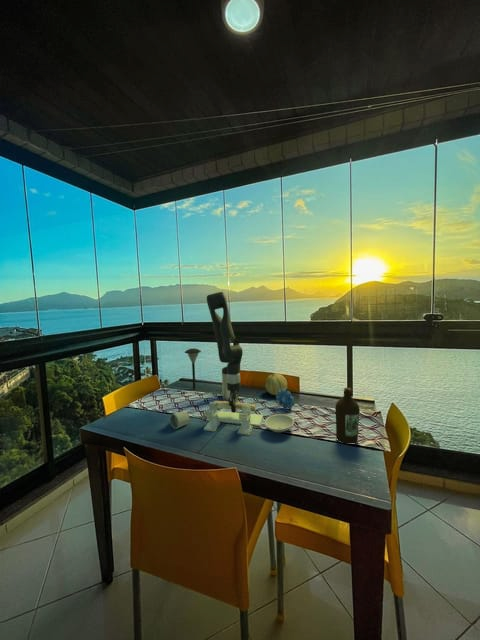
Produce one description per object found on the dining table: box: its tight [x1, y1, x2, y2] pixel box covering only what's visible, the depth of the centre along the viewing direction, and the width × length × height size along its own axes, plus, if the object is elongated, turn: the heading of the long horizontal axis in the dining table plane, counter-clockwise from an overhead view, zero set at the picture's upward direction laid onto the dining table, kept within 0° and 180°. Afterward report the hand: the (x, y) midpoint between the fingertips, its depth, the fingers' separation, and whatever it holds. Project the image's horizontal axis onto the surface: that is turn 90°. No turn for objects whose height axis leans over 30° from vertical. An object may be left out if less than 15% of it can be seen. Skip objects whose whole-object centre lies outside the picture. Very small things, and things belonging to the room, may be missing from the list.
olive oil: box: [334, 387, 361, 444], centre depth 132 cm, size 11×11×25 cm
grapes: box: [275, 389, 295, 410], centre depth 168 cm, size 12×7×12 cm, turn 60°
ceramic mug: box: [169, 410, 190, 430], centre depth 151 cm, size 11×8×8 cm
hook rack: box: [203, 401, 254, 436], centre depth 146 cm, size 8×24×12 cm, turn 75°
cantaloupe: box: [265, 372, 288, 396], centre depth 193 cm, size 15×15×15 cm
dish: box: [263, 413, 295, 433], centre depth 143 cm, size 18×14×5 cm
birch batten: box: [213, 400, 257, 413], centre depth 158 cm, size 3×24×3 cm, turn 75°
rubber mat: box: [205, 410, 264, 426], centre depth 158 cm, size 12×30×1 cm, turn 75°
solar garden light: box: [184, 347, 202, 391], centre depth 205 cm, size 12×12×30 cm
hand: (234, 410), depth 158 cm, fingers closed on birch batten, 3 cm apart
